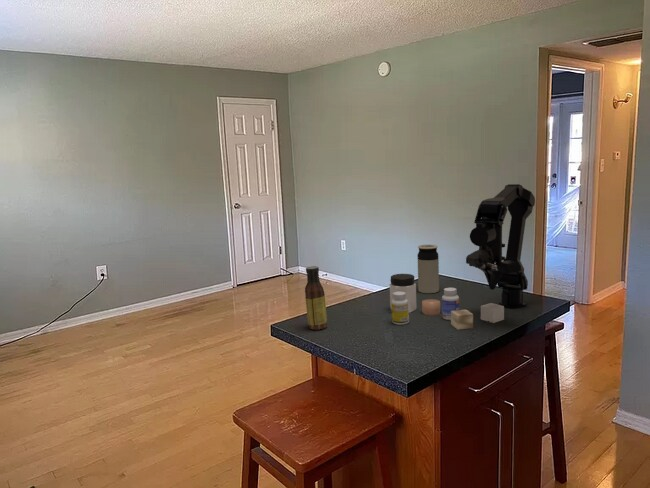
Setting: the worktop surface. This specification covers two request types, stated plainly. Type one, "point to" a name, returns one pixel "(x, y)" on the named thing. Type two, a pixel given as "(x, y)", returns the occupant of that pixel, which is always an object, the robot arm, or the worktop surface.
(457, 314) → the birch block
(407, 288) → the jar
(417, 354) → the worktop surface
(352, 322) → the worktop surface
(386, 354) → the worktop surface
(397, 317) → the supplement bottle
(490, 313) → the grey block
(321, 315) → the sauce bottle
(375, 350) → the worktop surface
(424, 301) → the tan rounded cylinder
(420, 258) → the travel mug
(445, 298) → the pill bottle
